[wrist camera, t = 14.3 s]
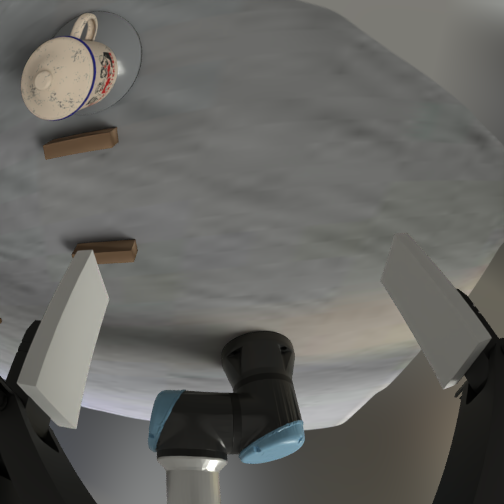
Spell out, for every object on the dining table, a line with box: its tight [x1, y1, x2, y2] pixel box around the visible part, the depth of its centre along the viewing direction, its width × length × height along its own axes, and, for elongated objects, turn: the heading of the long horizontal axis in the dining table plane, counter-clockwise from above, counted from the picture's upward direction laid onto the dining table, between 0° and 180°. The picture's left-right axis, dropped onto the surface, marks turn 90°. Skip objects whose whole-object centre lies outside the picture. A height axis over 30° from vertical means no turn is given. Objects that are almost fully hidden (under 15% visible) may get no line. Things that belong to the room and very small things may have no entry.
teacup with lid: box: [21, 13, 118, 121], centre depth 23 cm, size 12×9×12 cm
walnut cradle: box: [43, 127, 138, 264], centre depth 38 cm, size 19×10×3 cm, turn 179°
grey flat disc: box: [53, 11, 142, 115], centre depth 28 cm, size 14×14×1 cm
